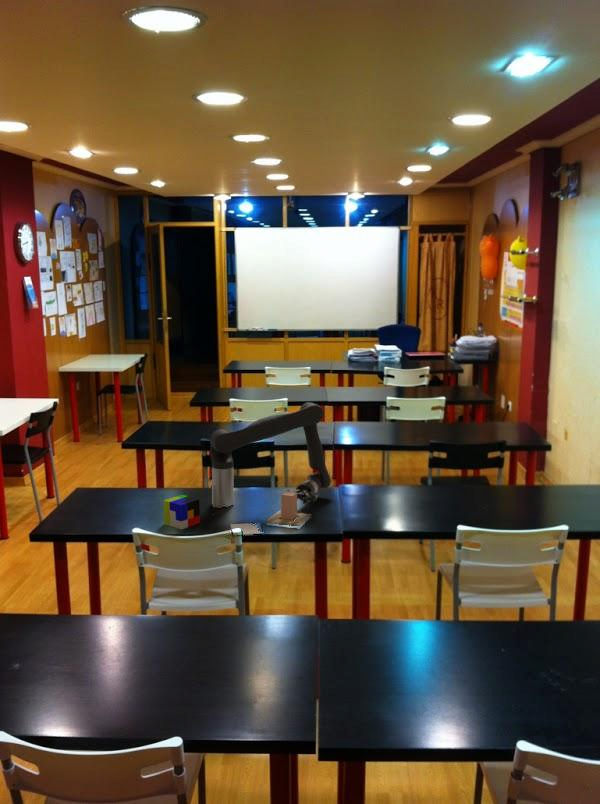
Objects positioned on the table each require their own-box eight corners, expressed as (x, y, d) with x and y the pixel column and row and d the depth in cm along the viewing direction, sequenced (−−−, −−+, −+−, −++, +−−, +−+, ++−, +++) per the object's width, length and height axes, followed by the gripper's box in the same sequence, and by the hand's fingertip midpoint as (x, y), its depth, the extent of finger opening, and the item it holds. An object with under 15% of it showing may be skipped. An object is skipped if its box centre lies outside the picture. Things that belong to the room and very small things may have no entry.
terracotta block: (281, 523, 288) (281, 494, 286) (285, 519, 293) (285, 491, 291) (292, 524, 286) (292, 495, 284) (297, 520, 291) (297, 492, 289)
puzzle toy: (181, 529, 280) (181, 505, 279) (164, 524, 286) (163, 500, 285) (199, 523, 288) (199, 499, 286) (182, 518, 294) (182, 494, 292)
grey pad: (232, 536, 273) (232, 534, 273) (230, 525, 284) (230, 524, 284) (263, 534, 275) (263, 532, 275) (260, 524, 287) (260, 522, 286)
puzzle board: (266, 525, 285) (266, 520, 285) (279, 514, 298) (279, 510, 298) (299, 529, 281) (299, 524, 280) (310, 518, 294) (311, 514, 293)
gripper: (291, 480, 311) (278, 489, 295) (322, 483, 306) (310, 493, 291) (291, 496, 312) (278, 507, 297) (322, 500, 307) (310, 511, 292)
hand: (294, 500), depth 294 cm, fingers open, 8 cm apart
